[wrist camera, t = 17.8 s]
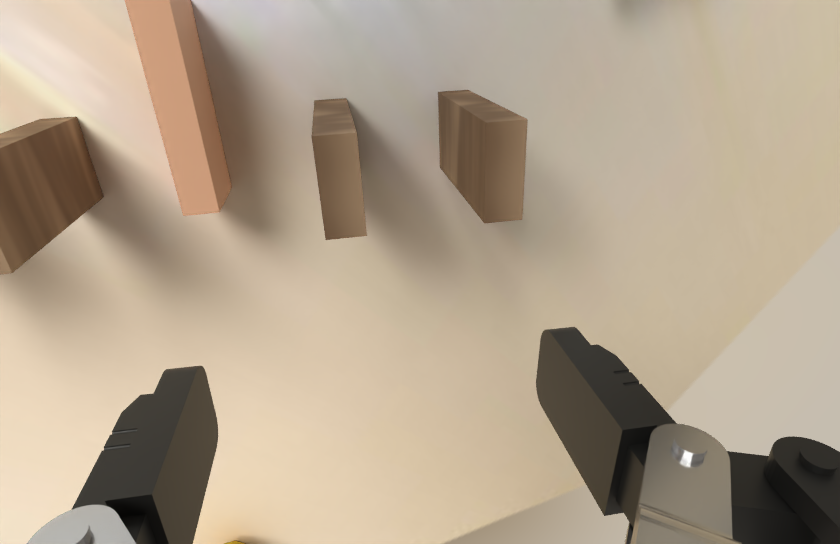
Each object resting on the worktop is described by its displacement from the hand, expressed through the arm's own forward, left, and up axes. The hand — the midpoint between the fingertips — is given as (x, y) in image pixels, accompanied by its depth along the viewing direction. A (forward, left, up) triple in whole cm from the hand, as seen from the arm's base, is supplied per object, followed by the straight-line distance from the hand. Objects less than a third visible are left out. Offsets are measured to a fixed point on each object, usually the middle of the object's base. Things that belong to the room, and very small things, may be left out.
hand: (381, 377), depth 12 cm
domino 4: (-6, +5, -25) cm, 26 cm away
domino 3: (0, -1, -25) cm, 25 cm away
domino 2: (+7, -5, -22) cm, 24 cm away
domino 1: (+11, -12, -25) cm, 30 cm away
